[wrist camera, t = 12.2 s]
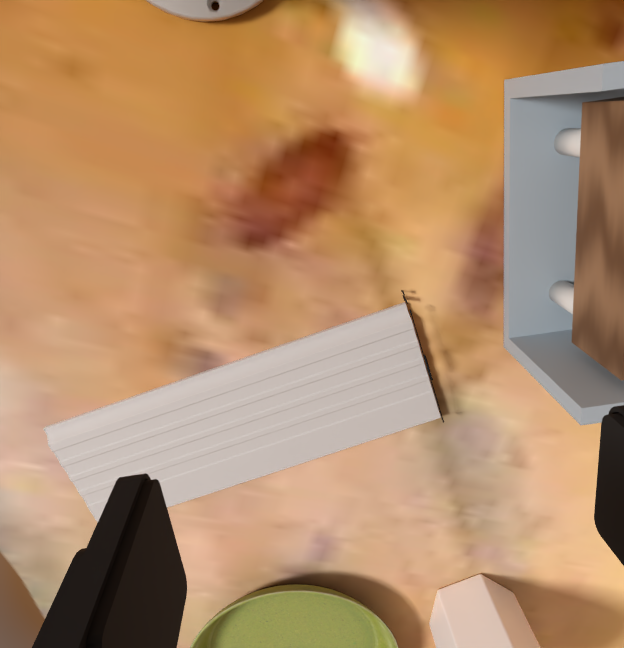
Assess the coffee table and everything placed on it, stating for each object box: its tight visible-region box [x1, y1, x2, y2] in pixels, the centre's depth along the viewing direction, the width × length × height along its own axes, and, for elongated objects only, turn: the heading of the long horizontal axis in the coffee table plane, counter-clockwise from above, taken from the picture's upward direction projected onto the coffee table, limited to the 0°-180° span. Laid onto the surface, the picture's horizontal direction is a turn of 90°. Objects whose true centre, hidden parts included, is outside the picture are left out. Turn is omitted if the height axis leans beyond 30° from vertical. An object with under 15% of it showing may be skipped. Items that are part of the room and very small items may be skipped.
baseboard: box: [44, 290, 444, 522], centre depth 44 cm, size 31×3×12 cm
